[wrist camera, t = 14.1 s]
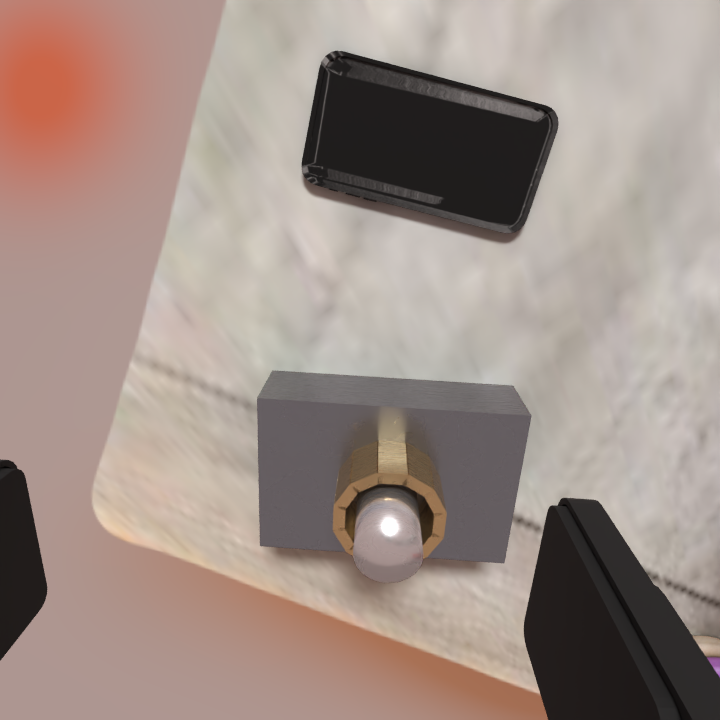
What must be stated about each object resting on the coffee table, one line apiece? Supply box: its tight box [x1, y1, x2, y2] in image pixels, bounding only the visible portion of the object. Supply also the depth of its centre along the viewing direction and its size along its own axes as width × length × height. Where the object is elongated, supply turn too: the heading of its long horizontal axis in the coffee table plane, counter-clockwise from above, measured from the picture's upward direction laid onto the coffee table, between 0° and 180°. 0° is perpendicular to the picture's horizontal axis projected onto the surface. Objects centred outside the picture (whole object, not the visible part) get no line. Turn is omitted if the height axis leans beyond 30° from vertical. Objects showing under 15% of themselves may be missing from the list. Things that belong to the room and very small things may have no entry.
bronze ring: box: [333, 440, 447, 559], centre depth 34 cm, size 7×7×4 cm
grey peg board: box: [257, 371, 531, 583], centre depth 35 cm, size 18×12×12 cm, turn 87°
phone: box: [302, 51, 558, 233], centre depth 33 cm, size 8×1×15 cm
